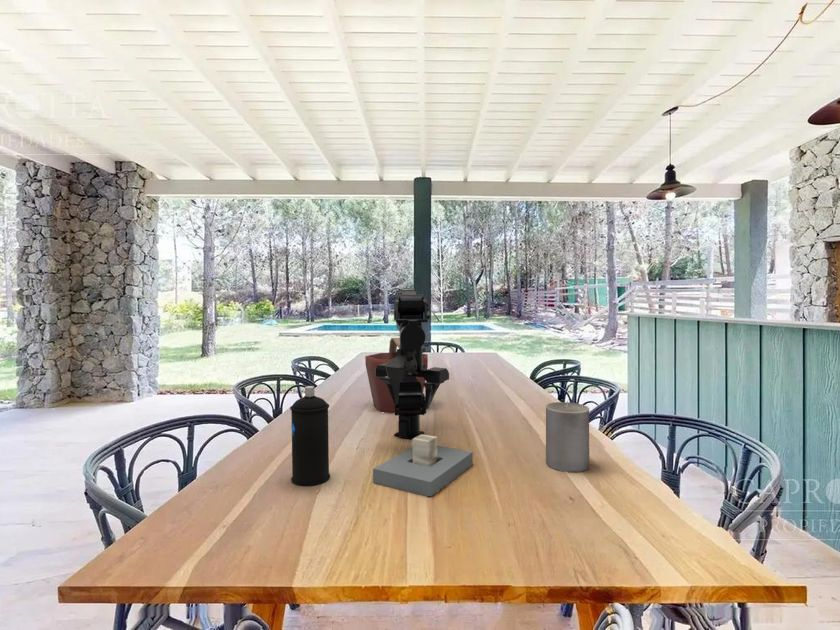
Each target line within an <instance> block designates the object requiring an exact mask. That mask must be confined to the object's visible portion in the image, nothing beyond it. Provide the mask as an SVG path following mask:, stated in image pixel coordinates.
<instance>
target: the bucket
mask: <svg viewBox="0 0 840 630" xmlns="http://www.w3.org/2000/svg"><path fill="white" fill-rule="evenodd" d="M397 349H400V337H391V338H390V339H389V348H388V352H378V353H373V354H368V355H365V356H364V357H365V358H364V359H365V369H366V373H367V374H366V375H367V379H368V383H369V388H370V393H371V397H372V398H371V399H372V403H373V407H375V408H376V409H375V408H374V409H375V410H376V411H378V410H379V411H378V412H380V413H381V412H384V413H385V414H395V404H394V402H393V399H392V396H391V394H390V391H389V388H388V386H387V384H386V383H385V382H384V381H383V380H380V379H379V378H380V377H378V376H375V368H376V367H377V365H380V364H384V363H388V362H389V361H390V360H392V359H393V358H395V357H396V351H397ZM428 362H429V361H428V353H423V364H425V368H424V369H423V370H427V369H428V367H429V366H428V364H429V363H428ZM416 378H417V380H418V381H419V382H420V383H421V386H422V393H424V389H425V387H424V385H423V383H425V382H426V380H425V379H424V377H416ZM400 381H401V379H400ZM397 409H399V408H397Z"/></svg>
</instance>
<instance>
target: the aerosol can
mask: <svg viewBox="0 0 840 630" xmlns="http://www.w3.org/2000/svg"><path fill="white" fill-rule="evenodd" d="M304 393H305V394H304V396H303V397H300V398H298V399H297V400H295V401H294V403H293V404H292V405H290V407H289V410H290V411H291V412H290V413H291V464H292V465H291V470H292V473H291V478H290V480H291V482H292V483H293V484H294V485H296V486H300V485H301V487H311V486H317V485H321V484H323V483H326V482H327V481H328V480H330V478H331V474H330V462H329V461H330V459H329V457H330V456H329V455H330V453H329V452H330V451H329V450H330V449H329V408H330V404H329V403H327V402H326V401H325V399H323V398H322V397H319V396H317V395H315V386H314V385H307V386H305V387H304Z"/></svg>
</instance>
